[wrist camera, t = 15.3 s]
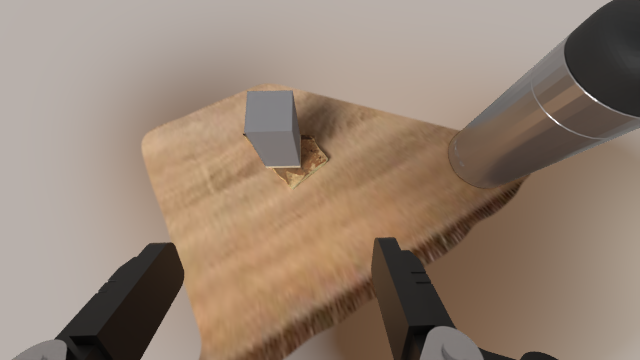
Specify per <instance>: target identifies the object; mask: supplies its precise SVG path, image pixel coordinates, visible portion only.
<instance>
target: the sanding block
mask: <svg viewBox="0 0 640 360" xmlns="http://www.w3.org/2000/svg"><path fill="white" fill-rule="evenodd" d="M244 132H245V134H246V136H247V137H248V139H249V140H250V142H251V144H252V145H253V147H254V149H255V150H256V152H257V153H258V155H259V157H260V158H261V160H262V161H263V163H264V165H265V167H266V168H298V167H301V136H300V132H299V126H298V120H297V114H296V108H295V102H294V96H293V91H247V103H246V116H245V129H244Z"/></svg>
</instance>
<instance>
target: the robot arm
mask: <svg viewBox="0 0 640 360" xmlns="http://www.w3.org/2000/svg"><path fill="white" fill-rule="evenodd" d="M638 128H640V0H613V1H611V2H609V3H607V4H606V5H604V6H603V7H601V8H600V9H599V10H597V11H596V12H595V13H593V14H592V15H591V16H590V17H589V18H588V19H586V20H585V21H584V22H583V23H582V24H581V25H580V26H579V27H578V28H576V29H575V30H574V31H573V32H572V33H571V34H570V35H569V36H567V37H566V38H565V39H564V40H563V41H562V42H561V43H559V44H558V45H557V46H556V47H555V48H554V49H553V50H552V51H551V52H549V53H548V54H547V55H546V56H545V57H544V58H543V59H541V60H540V61H539V62H538V63H537V64H536V65H535V66H534V67H533V68H531V69H530V70H529V71H528V72H527V73H526V74H525V75H524V76H522V77H521V78H520V79H519V80H518V81H517V82H516V83H515V84H514V85H512V86H511V87H510V88H509V89H508V90H507V91H506V92H504V93H503V94H502V95H501V96H500V97H499V98H498V99H497V100H495V101H494V102H493V103H492V104H491V105H490V106H489V107H488V108H486V109H485V110H484V111H483V112H482V113H481V114H480V115H479V116H477V117H476V118H475V119H474V120H473V121H472V122H471V123H469V124H468V125H467V126H466V127H465V128H464V129H463V130H462V131H460V132H459V133H458V134H457V135H456V136H455V137H454V138H453V139H452V141H451V143H450V145H449V150H448V155H449V160H450V163H451V166H452V167H453V169H454V171H455V172H456V173H457V174H458V176H459V177H461V178H462V179H463V180H464V181H466V182H467V183H469V184H471V185H473V186H476V187H480V188H495V187H498V186H501V185H503V184H506V183H508V182H510V181H513V180H515V179H518V178H520V177H523V176H525V175H528V174H530V173H532V172H535V171H537V170H540V169H542V168H544V167H547V166H549V165H552V164H554V163H556V162H559V161H561V160H563V159H566V158H568V157H571V156H573V155H576V154H578V153H580V152H583V151H585V150H588V149H590V148H593V147H595V146H597V145H600V144H602V143H604V142H607V141H609V140H612V139H614V138H617V137H619V136H622V135H623V134H626V133H628V132H630V131H633V130H635V129H638ZM371 272H372V280H373V284H374V288H375V291H376V295H377V299H378V302H379V306H380V310H381V314H382V317H383V321H384V325H385V328H386V332H387V336H388V339H389V343H390V347H391V351H392V354H393V358H394V360H515V359H512V358H508V357H505V356H501V355H498V354H495V353H491V352H488V351H485V350H483V349H481V348H479V347H477V346H476V344H475V343H474V342H473V341H472V340H471V339H470V338H469V337H468V336H466V335H465V334H464V333H462V332H460V331H459V330H457V329H456V328H455V326H454V324H453V323H452V321H451V319H450V317H449V315H448V313H447V311H446V309H445V307H444V305H443V304H442V302H441V300H440V298H439V296H438V294H437V292H436V290H435V288H434V286H433V284H431V281H430V279H429V277H428V275H427V274H426V271H425V269H424V267H423V265H422V264H421V262H420V260H419V259H418V258H417V257H416V256H415V255H414V254H413V253H412V252H410V251H409V250H402V251H401V249H400V247H399V245H398V242H397V240H396V239H395V238H394V237H388V238H375V241H374V248H373V256H372V265H371ZM183 281H184V269H183V266H182V264H181V261H180V258H179V255H178V252H177V250H176V247H175V245H174V244H173V243H150V244H148V245H147V246H146V247H145V248H144V250H143V251H142V252H141V253H140V254H139V255H138V256H137V257H134V258H132V259H131V260H129V261H128V262H127V263H125V264H124V265H122V266H121V267H120V268H119V269H118V270H117V271H116V272H115V273H114V274H113V275H112V276H111V277H110V279H109V280H108V282H107V283H105V284H104V285H103V286H102V287H101V289H100V290H99V292H98V293H96V294H95V295H94V296H93V297H92V298H91V300H90V301H89V302H88V303H87V304H86V305H85V306H84V307H83V308H82V309H81V310H80V311H79V313H78V314H77V315H76V316H75V317H74V318H73V319H72V320H71V321H70V323H69V324H68V325H67V326H66V327H65V328H64V329H63V330H62V331H61V333H60V334H59V335H58V336H57V337H56V338H55V339H54V340H49V341H45V342H42V343H39V344H37V345H35V346H33V347H31V348H29V349H27V350H25V351H24V352H22V353H20V354H19V355H18V356H16V357H15V358H13V359H12V360H140V359H141V358H142V356H143V354H144V352H145V350H146V349H147V347H148V345H149V343H150V341H151V340H152V338H153V336H154V334H155V333H156V331H157V329H158V327H159V326H160V324H161V322H162V320H163V318H164V317H165V315H166V313H167V311H168V310H169V308H170V306H171V304H172V302H173V301H174V299H175V297H176V295H177V294H178V292H179V290H180V288H181V286H182V284H183ZM520 360H558V359H556V358H554V357H552V356H550V355H547V354H545V353H541V352H528V353H525V354H524V355H523V356H522V358H521V359H520Z"/></svg>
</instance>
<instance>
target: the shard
mask: <svg viewBox="0 0 640 360" xmlns="http://www.w3.org/2000/svg"><path fill="white" fill-rule="evenodd" d="M243 135H244V136H245V138H246V139H247V140H248V141H249V142H250V140H249V139H248V137H247V136H246V134H243ZM300 136H301V167H298V168H272V169H273V170H274V171H275V172H276V174H277V175H278V176H279V177H280V178H281V179H282V180H284V181H285V182H286V183H287V184H288V186H289V187H291V189H294V188H296V186H298V185H299V184H300V183H301V182H302V181H304V180H305V179H306V178H307V177H309V176H310V175H311V174H312V173H314V172H315V171H316V170H318V169H319V168H320V167H321V166H323V165H325V163H326V162H327V161H328V158H327V157H326V155H325V154H324V153H323V152H322V151H321V150H320V149H319V147H318V146H317V144H316V142H315V140H314V136H309V135H307V136H305V135H300ZM250 143H251V142H250Z"/></svg>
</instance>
